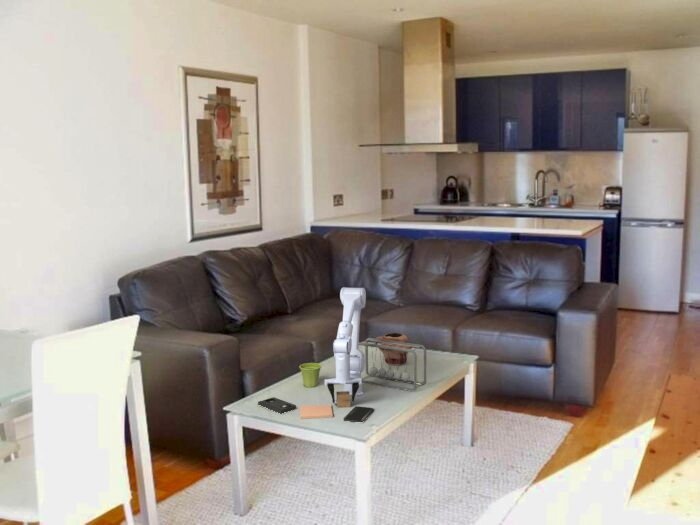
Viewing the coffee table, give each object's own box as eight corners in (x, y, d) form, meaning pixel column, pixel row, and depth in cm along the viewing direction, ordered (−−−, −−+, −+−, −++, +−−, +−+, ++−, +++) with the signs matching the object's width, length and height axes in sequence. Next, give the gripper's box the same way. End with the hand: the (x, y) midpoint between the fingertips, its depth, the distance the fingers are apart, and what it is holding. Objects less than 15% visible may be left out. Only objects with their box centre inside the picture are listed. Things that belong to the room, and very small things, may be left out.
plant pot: (318, 389, 307) (318, 369, 306) (297, 388, 309) (296, 368, 307) (324, 382, 316) (323, 363, 315) (303, 381, 318) (302, 362, 317)
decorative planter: (368, 363, 345) (368, 334, 343) (379, 357, 355) (379, 329, 353) (406, 368, 335) (406, 339, 333) (417, 362, 346) (417, 333, 344)
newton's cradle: (354, 381, 317) (353, 341, 315) (366, 375, 326) (366, 336, 324) (415, 392, 302) (415, 350, 299) (426, 385, 310) (426, 345, 308)
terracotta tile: (300, 407, 284) (300, 405, 284) (330, 406, 285) (330, 404, 285) (300, 418, 272) (300, 416, 272) (332, 417, 273) (332, 415, 273)
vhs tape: (296, 410, 283) (296, 405, 283) (281, 415, 278) (280, 410, 278) (273, 401, 293) (273, 397, 293) (258, 406, 288) (258, 401, 288)
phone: (374, 408, 281) (362, 421, 267) (374, 410, 281) (362, 424, 267) (355, 406, 284) (342, 418, 270) (355, 408, 284) (342, 421, 270)
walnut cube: (336, 403, 289) (336, 391, 288) (349, 403, 289) (348, 391, 289) (337, 407, 284) (337, 395, 283) (350, 407, 284) (350, 395, 284)
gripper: (324, 372, 280) (325, 405, 282) (362, 370, 281) (362, 404, 283) (324, 367, 287) (324, 400, 289) (360, 365, 288) (360, 398, 290)
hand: (343, 401), depth 286 cm, fingers open, 7 cm apart
